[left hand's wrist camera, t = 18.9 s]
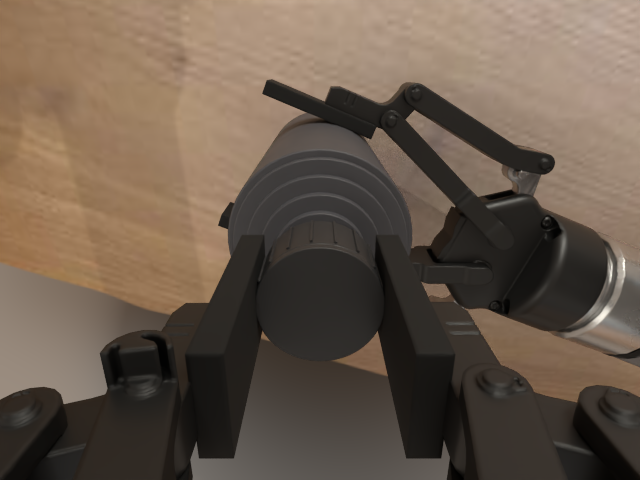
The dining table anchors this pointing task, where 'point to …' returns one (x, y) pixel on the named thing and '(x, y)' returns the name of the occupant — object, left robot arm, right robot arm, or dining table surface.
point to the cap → (320, 292)
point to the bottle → (319, 187)
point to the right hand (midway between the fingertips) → (245, 153)
